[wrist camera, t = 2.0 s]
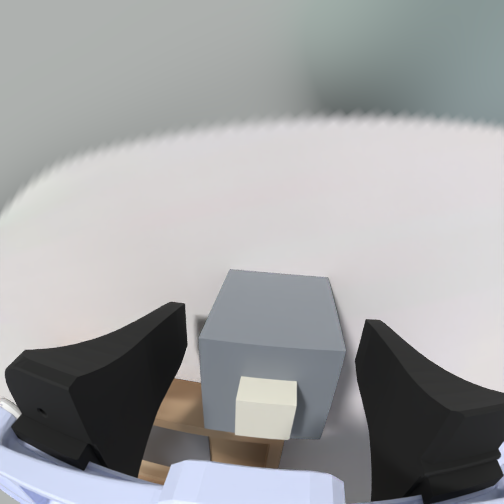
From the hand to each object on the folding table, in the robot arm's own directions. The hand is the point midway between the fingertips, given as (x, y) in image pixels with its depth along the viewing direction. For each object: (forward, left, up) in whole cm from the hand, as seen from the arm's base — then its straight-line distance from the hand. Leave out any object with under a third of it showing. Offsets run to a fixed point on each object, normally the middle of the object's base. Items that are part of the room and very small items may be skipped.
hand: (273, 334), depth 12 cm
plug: (0, 0, -2) cm, 2 cm away
